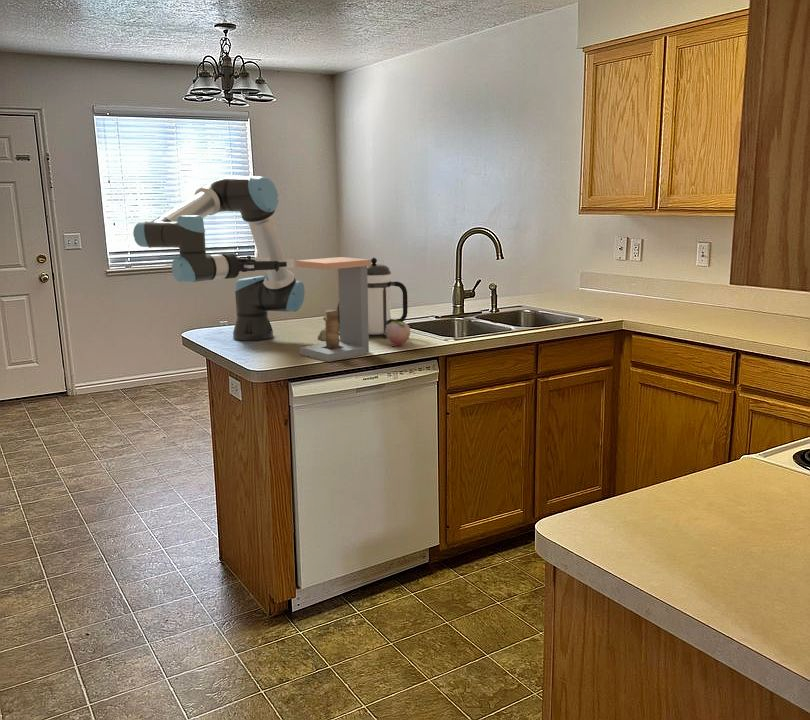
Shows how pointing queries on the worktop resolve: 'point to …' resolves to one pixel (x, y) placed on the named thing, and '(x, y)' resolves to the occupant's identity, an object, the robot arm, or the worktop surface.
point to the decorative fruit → (397, 332)
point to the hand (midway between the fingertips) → (281, 262)
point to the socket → (345, 308)
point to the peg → (332, 329)
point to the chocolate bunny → (323, 333)
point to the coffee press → (381, 298)
